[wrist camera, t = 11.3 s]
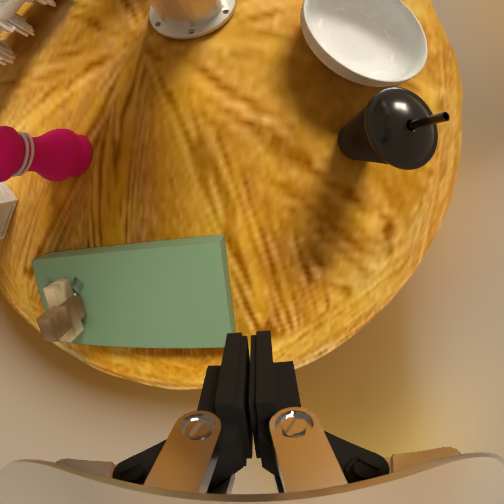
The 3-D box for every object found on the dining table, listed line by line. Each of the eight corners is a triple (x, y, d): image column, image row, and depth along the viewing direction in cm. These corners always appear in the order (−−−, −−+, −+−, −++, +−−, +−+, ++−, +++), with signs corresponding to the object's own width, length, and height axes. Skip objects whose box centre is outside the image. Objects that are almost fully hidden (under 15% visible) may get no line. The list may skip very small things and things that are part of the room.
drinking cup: (369, 180, 35) (467, 190, 16) (318, 154, 34) (386, 132, 15) (388, 131, 33) (488, 106, 14) (339, 104, 32) (414, 46, 13)
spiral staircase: (99, -17, 29) (16, 80, 32) (51, -42, 19) (-26, 50, 23) (86, -57, 14) (-28, 76, 18) (29, -77, 4) (-71, 43, 8)
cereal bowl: (414, 101, 32) (440, 91, 25) (304, 95, 32) (314, 77, 25) (391, 8, 27) (409, -12, 21) (287, -3, 28) (292, -30, 21)
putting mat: (47, 252, 38) (31, 260, 34) (224, 234, 37) (220, 242, 33) (69, 329, 42) (56, 341, 37) (235, 329, 41) (233, 346, 36)
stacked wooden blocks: (59, 278, 34) (25, 300, 26) (76, 278, 34) (42, 300, 26) (74, 328, 36) (46, 356, 28) (91, 329, 36) (63, 358, 28)
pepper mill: (103, 142, 34) (-1, 129, 15) (83, 187, 36) (-21, 205, 16) (70, 125, 33) (-29, 110, 14) (53, 168, 35) (-47, 177, 15)
